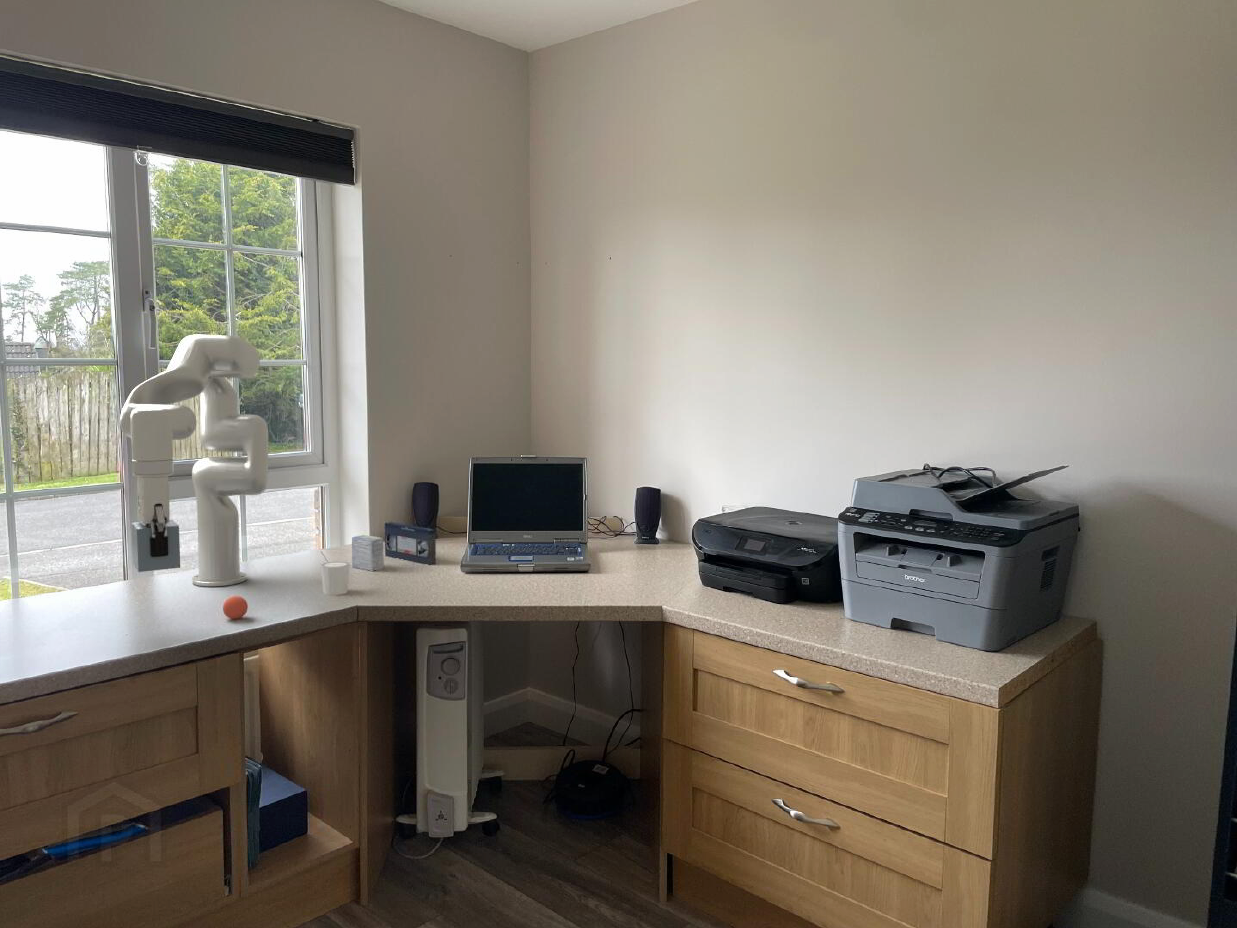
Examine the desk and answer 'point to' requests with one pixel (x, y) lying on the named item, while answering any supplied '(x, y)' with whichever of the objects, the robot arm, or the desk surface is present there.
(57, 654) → the desk surface
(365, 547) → the light grey block
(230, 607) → the ball
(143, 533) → the blue-grey block
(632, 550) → the desk surface
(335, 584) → the white tapered cup
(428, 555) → the vhs cassette tape
